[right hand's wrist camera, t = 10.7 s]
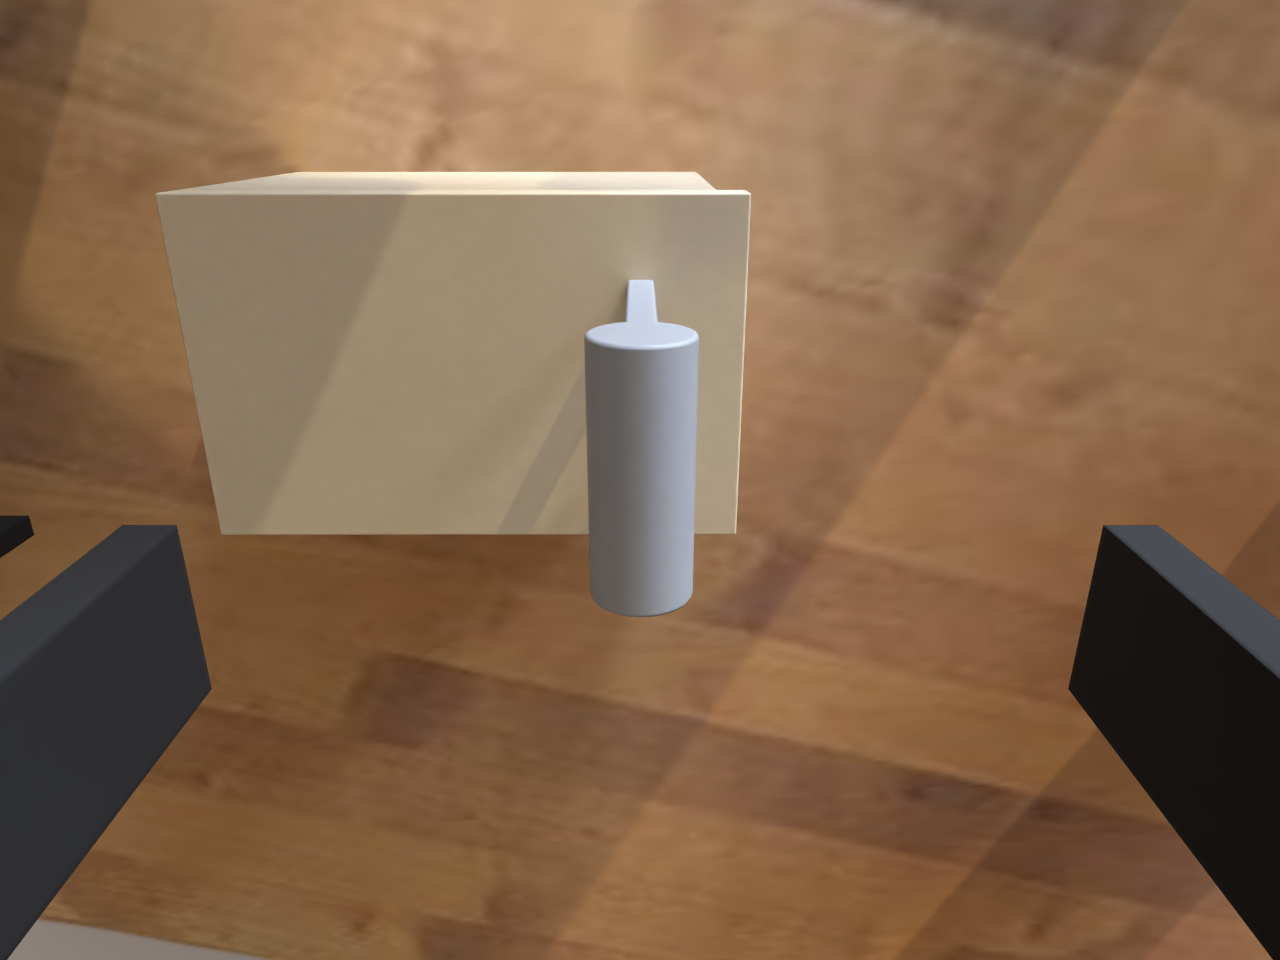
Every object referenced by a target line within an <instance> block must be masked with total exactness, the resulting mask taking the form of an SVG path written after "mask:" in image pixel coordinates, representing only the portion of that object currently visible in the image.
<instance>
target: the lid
mask: <svg viewBox="0 0 1280 960" xmlns="http://www.w3.org/2000/svg"><path fill="white" fill-rule="evenodd" d="M155 197H156V202H157V207H158V212H159V217H160V222H161V228H162V233H163V238H164V243H165V248H166V253H167V258H168V264H169V269H170V274H171V279H172V284H173V289H174V294H175V299H176V305H177V310H178V315H179V320H180V325H181V330H182V335H183V341H184V346H185V351H186V356H187V361H188V366H189V371H190V377H191V382H192V387H193V392H194V397H195V402H196V407H197V413H198V418H199V423H200V428H201V433H202V438H203V443H204V449H205V454H206V459H207V464H208V469H209V474H210V479H211V485H212V490H213V495H214V500H215V505H216V510H217V515H218V521H219V526H220V531H221V534H222V535H589V560H590V593H591V595H592V597H593V599H594V601H595V602H596V603H597V604H598V605H599V606H600V607H602V608H604V609H605V610H608V611H610V612H613V613H616V614H619V615H624V616H631V617H652V616H659V615H664V614H667V613H670V612H673V611H675V610H678V609H679V608H681V607H683V606H684V605H685V604H686V603H687V602H688V601H689V599H690V597H691V595H692V592H693V558H694V534H736V522H737V499H738V477H739V454H740V432H741V409H742V387H743V364H744V342H745V319H746V297H747V274H748V252H749V229H750V207H751V194H750V193H749V192H747V191H745V190H174V191H167V192H160V193H156V194H155Z"/></svg>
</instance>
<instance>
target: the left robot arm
mask: <svg viewBox="0 0 1280 960" xmlns="http://www.w3.org/2000/svg"><path fill="white" fill-rule="evenodd" d="M33 535H34V533H33V529H32V526H31V522H30V518H29V516H0V558H1V557H2V556H4V555H5V554H7V553H8V552H10V551H11V550H13V549H14V548H16V547H17V546H18V545H20V544H21V543H23V542H24V541H26V540H27V539H29V538H30V537H32V536H33Z"/></svg>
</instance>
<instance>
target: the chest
mask: <svg viewBox="0 0 1280 960" xmlns="http://www.w3.org/2000/svg"><path fill="white" fill-rule="evenodd" d="M181 190H716V189H714V188H713V187H712V186H711V185H710V184H709V183H708V182H706V181H705V180H704V179H703V178H702V177H701V176H700V175H698V174H697V173H696V172H296V173H289V174H282V175H275V176H269V177H262V178H255V179H248V180H242V181H235V182H228V183H221V184H215V185H208V186H201V187H194V188H187V189H181Z"/></svg>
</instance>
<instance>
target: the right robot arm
mask: <svg viewBox="0 0 1280 960" xmlns="http://www.w3.org/2000/svg"><path fill="white" fill-rule="evenodd" d="M211 689H212V688H211V684H210V679H209V674H208V670H207V665H206V660H205V656H204V651H203V646H202V642H201V637H200V632H199V628H198V623H197V618H196V614H195V609H194V604H193V600H192V595H191V590H190V586H189V581H188V576H187V572H186V567H185V562H184V558H183V553H182V548H181V544H180V539H179V534H178V530H177V525H122V526H121V527H120V528H118V529H117V530H116V531H115V532H113V533H112V534H111V535H109V536H108V537H107V538H106V539H104V540H103V541H102V542H100V543H99V544H98V545H97V546H95V547H94V548H93V549H91V550H90V551H89V552H88V553H86V554H85V555H84V556H82V557H81V558H80V559H79V560H77V561H76V562H75V563H74V564H72V565H71V566H70V567H68V568H67V569H66V570H65V571H63V572H62V573H61V574H59V575H58V576H57V577H56V578H54V579H53V580H52V581H50V582H49V583H48V584H47V585H45V586H44V587H43V588H41V589H40V590H39V591H38V592H36V593H35V594H34V595H32V596H31V597H30V598H29V599H27V600H26V601H25V602H23V603H22V604H21V605H20V606H18V607H17V608H16V609H14V610H13V611H12V612H11V613H9V614H8V615H7V616H6V617H4V618H3V619H2V620H0V960H7V959H8V958H9V956H10V955H11V954H12V952H13V951H14V950H15V948H16V947H17V946H18V944H19V943H20V942H21V940H22V939H23V938H24V936H25V935H26V934H27V932H28V931H29V930H30V929H31V927H32V926H33V925H34V923H35V922H36V921H37V919H38V918H39V917H40V915H41V914H42V913H43V911H44V910H45V909H46V907H47V906H48V905H49V903H50V902H51V901H52V899H53V898H54V897H55V895H56V894H57V893H58V891H59V890H60V889H61V887H62V886H63V885H64V884H65V882H66V881H67V880H68V878H69V877H70V876H71V874H72V873H73V872H74V870H75V869H76V868H77V866H78V865H79V864H80V862H81V861H82V860H83V858H84V857H85V856H86V854H87V853H88V852H89V850H90V849H91V848H92V846H93V845H94V844H95V842H96V841H97V840H98V839H99V837H100V836H101V835H102V833H103V832H104V831H105V829H106V828H107V827H108V825H109V824H110V823H111V821H112V820H113V819H114V817H115V816H116V815H117V813H118V812H119V811H120V809H121V808H122V807H123V805H124V804H125V803H126V801H127V800H128V799H129V797H130V796H131V795H132V794H133V792H134V791H135V790H136V788H137V787H138V786H139V784H140V783H141V782H142V780H143V779H144V778H145V776H146V775H147V774H148V772H149V771H150V770H151V768H152V767H153V766H154V764H155V763H156V762H157V760H158V759H159V758H160V756H161V755H162V754H163V752H164V751H165V750H166V749H167V747H168V746H169V745H170V743H171V742H172V741H173V739H174V738H175V737H176V735H177V734H178V733H179V731H180V730H181V729H182V727H183V726H184V725H185V723H186V722H187V721H188V719H189V718H190V717H191V715H192V714H193V713H194V711H195V710H196V709H197V707H198V706H199V705H200V704H201V702H202V701H203V700H204V698H205V697H206V696H207V694H208V693H209V692H210V690H211ZM1068 689H1069V690H1070V692H1071V693H1072V694H1073V696H1074V697H1075V698H1076V700H1077V701H1078V702H1079V704H1080V705H1081V706H1082V708H1083V709H1084V710H1085V711H1086V713H1087V714H1088V715H1089V717H1090V718H1091V719H1092V721H1093V722H1094V723H1095V725H1096V726H1097V727H1098V729H1099V730H1100V731H1101V733H1102V734H1103V735H1104V737H1105V738H1106V739H1107V741H1108V742H1109V743H1110V745H1111V746H1112V747H1113V749H1114V750H1115V751H1116V752H1117V754H1118V755H1119V756H1120V758H1121V759H1122V760H1123V762H1124V763H1125V764H1126V766H1127V767H1128V768H1129V770H1130V771H1131V772H1132V774H1133V775H1134V776H1135V778H1136V779H1137V780H1138V782H1139V783H1140V784H1141V786H1142V787H1143V788H1144V790H1145V791H1146V792H1147V794H1148V795H1149V796H1150V797H1151V799H1152V800H1153V801H1154V803H1155V804H1156V805H1157V807H1158V808H1159V809H1160V811H1161V812H1162V813H1163V815H1164V816H1165V817H1166V819H1167V820H1168V821H1169V823H1170V824H1171V825H1172V827H1173V828H1174V829H1175V831H1176V832H1177V833H1178V835H1179V836H1180V837H1181V839H1182V840H1183V841H1184V842H1185V844H1186V845H1187V846H1188V848H1189V849H1190V850H1191V852H1192V853H1193V854H1194V856H1195V857H1196V858H1197V860H1198V861H1199V862H1200V864H1201V865H1202V866H1203V868H1204V869H1205V870H1206V872H1207V873H1208V874H1209V876H1210V877H1211V878H1212V880H1213V881H1214V882H1215V884H1216V885H1217V886H1218V887H1219V889H1220V890H1221V891H1222V893H1223V894H1224V895H1225V897H1226V898H1227V899H1228V901H1229V902H1230V903H1231V905H1232V906H1233V907H1234V909H1235V910H1236V911H1237V913H1238V914H1239V915H1240V917H1241V918H1242V919H1243V921H1244V922H1245V923H1246V925H1247V926H1248V927H1249V929H1250V930H1251V931H1252V932H1253V934H1254V935H1255V936H1256V938H1257V939H1258V940H1259V942H1260V943H1261V944H1262V946H1263V947H1264V948H1265V950H1266V951H1267V952H1268V954H1269V955H1270V956H1271V958H1272V959H1273V960H1280V620H1278V619H1277V618H1276V617H1274V616H1273V615H1272V614H1271V613H1269V612H1268V611H1267V610H1266V609H1264V608H1263V607H1262V606H1260V605H1259V604H1258V603H1257V602H1255V601H1254V600H1253V599H1251V598H1250V597H1249V596H1248V595H1246V594H1245V593H1244V592H1242V591H1241V590H1240V589H1239V588H1237V587H1236V586H1235V585H1233V584H1232V583H1231V582H1230V581H1228V580H1227V579H1226V578H1224V577H1223V576H1222V575H1221V574H1219V573H1218V572H1217V571H1215V570H1214V569H1213V568H1212V567H1210V566H1209V565H1208V564H1206V563H1205V562H1204V561H1203V560H1201V559H1200V558H1199V557H1198V556H1196V555H1195V554H1194V553H1192V552H1191V551H1190V550H1189V549H1187V548H1186V547H1185V546H1183V545H1182V544H1181V543H1180V542H1178V541H1177V540H1176V539H1174V538H1173V537H1172V536H1171V535H1169V534H1168V533H1167V532H1165V531H1164V530H1163V529H1162V528H1160V527H1159V526H1158V525H1103V530H1102V534H1101V539H1100V544H1099V548H1098V553H1097V558H1096V562H1095V567H1094V572H1093V576H1092V581H1091V586H1090V590H1089V595H1088V600H1087V604H1086V609H1085V614H1084V618H1083V623H1082V628H1081V632H1080V637H1079V642H1078V646H1077V651H1076V656H1075V660H1074V665H1073V670H1072V674H1071V679H1070V684H1069V688H1068Z"/></svg>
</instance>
